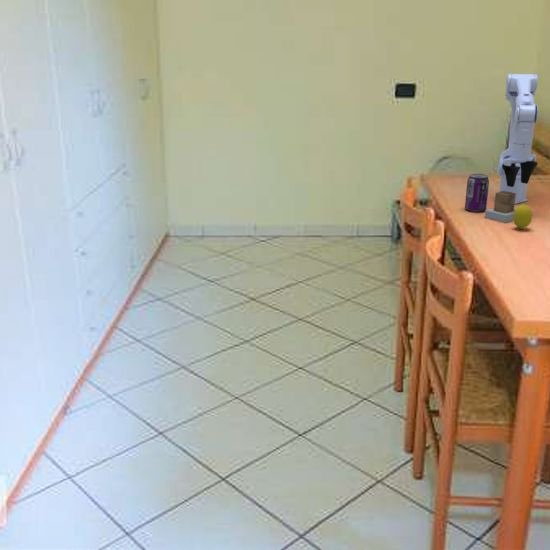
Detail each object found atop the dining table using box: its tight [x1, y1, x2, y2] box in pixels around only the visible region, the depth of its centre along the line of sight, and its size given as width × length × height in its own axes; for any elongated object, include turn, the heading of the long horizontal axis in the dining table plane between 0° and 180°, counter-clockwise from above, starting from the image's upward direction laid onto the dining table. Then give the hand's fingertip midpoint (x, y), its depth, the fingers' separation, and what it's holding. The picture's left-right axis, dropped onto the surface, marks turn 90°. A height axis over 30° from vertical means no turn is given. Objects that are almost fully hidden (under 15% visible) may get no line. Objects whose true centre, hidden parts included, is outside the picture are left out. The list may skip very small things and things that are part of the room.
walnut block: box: [493, 191, 516, 214], centre depth 220 cm, size 4×4×6 cm
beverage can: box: [464, 173, 490, 213], centre depth 230 cm, size 7×7×12 cm
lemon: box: [512, 203, 533, 230], centre depth 209 cm, size 6×6×8 cm
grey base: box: [484, 207, 516, 224], centre depth 221 cm, size 8×8×2 cm
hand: (517, 184), depth 222 cm, fingers open, 7 cm apart
